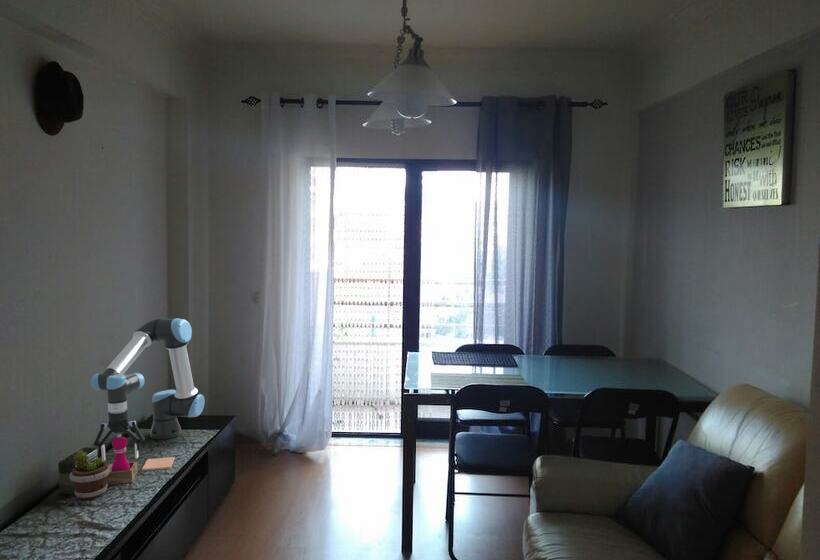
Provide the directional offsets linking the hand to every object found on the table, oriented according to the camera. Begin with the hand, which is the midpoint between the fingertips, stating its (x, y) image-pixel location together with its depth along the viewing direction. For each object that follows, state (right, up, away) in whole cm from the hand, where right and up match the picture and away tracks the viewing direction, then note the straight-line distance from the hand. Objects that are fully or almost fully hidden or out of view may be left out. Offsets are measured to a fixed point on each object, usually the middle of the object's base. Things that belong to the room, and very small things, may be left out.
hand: (120, 459), depth 271 cm
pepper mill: (0, -9, +1) cm, 9 cm away
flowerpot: (-5, -10, -15) cm, 19 cm away
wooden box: (0, -9, +1) cm, 9 cm away
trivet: (+10, -7, +16) cm, 20 cm away
